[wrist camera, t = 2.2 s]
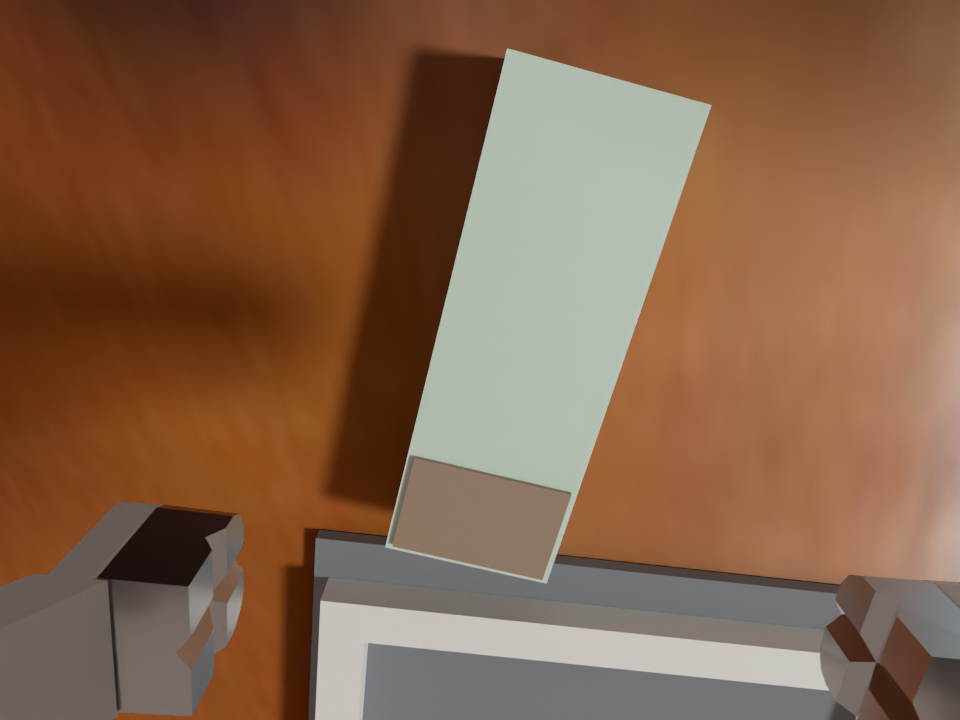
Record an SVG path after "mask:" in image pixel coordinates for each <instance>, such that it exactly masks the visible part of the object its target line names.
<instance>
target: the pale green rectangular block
mask: <svg viewBox="0 0 960 720" xmlns="http://www.w3.org/2000/svg"><path fill="white" fill-rule="evenodd" d="M710 108H711V105H709V104H706V103H702V102H698V101H695V100H691V99H688V98H684V97H680V96H677V95H673V94H670V93H666V92H662V91H659V90H655V89H652V88H648V87H645V86H641V85H637V84H634V83H630V82H627V81H623V80H619V79H616V78H612V77H609V76H605V75H601V74H598V73H594V72H591V71H587V70H583V69H580V68H576V67H573V66H569V65H565V64H562V63H558V62H555V61H551V60H547V59H544V58H540V57H537V56H533V55H529V54H526V53H522V52H519V51H515V50H511V49H508V48H507V51H506V55H505V59H504V63H503V67H502V71H501V75H500V79H499V84H498V88H497V92H496V96H495V100H494V104H493V108H492V112H491V116H490V120H489V124H488V129H487V133H486V137H485V141H484V145H483V149H482V153H481V157H480V161H479V165H478V169H477V173H476V178H475V182H474V186H473V190H472V194H471V198H470V202H469V206H468V210H467V214H466V218H465V223H464V227H463V231H462V235H461V239H460V243H459V247H458V251H457V255H456V259H455V263H454V267H453V272H452V276H451V280H450V284H449V288H448V292H447V296H446V300H445V304H444V308H443V312H442V317H441V321H440V325H439V329H438V333H437V337H436V341H435V345H434V349H433V353H432V357H431V361H430V366H429V370H428V374H427V378H426V382H425V386H424V390H423V394H422V398H421V402H420V406H419V411H418V415H417V419H416V423H415V427H414V431H413V435H412V439H411V443H410V447H409V451H408V455H407V460H406V464H405V468H404V472H403V476H402V480H401V484H400V488H399V492H398V496H397V500H396V505H395V509H394V513H393V517H392V521H391V525H390V529H389V533H388V537H387V541H386V545H385V548H390V549H394V550H399V551H403V552H408V553H412V554H416V555H421V556H425V557H430V558H434V559H439V560H443V561H447V562H452V563H456V564H461V565H465V566H470V567H474V568H479V569H483V570H487V571H492V572H496V573H501V574H505V575H510V576H514V577H518V578H523V579H527V580H532V581H536V582H541V583H545V584H547V581H548V578H549V575H550V573H551V570H552V567H553V564H554V561H555V558H556V555H557V552H558V549H559V546H560V544H561V541H562V538H563V535H564V532H565V529H566V526H567V523H568V520H569V517H570V515H571V512H572V509H573V506H574V503H575V500H576V497H577V494H578V491H579V488H580V485H581V483H582V480H583V477H584V474H585V471H586V468H587V465H588V462H589V459H590V456H591V454H592V451H593V448H594V445H595V442H596V439H597V436H598V433H599V430H600V427H601V425H602V422H603V419H604V416H605V413H606V410H607V407H608V404H609V401H610V398H611V396H612V393H613V390H614V387H615V384H616V381H617V378H618V375H619V372H620V369H621V367H622V364H623V361H624V358H625V355H626V352H627V349H628V346H629V343H630V340H631V338H632V335H633V332H634V329H635V326H636V323H637V320H638V317H639V314H640V311H641V309H642V306H643V303H644V300H645V297H646V294H647V291H648V288H649V285H650V282H651V279H652V277H653V274H654V271H655V268H656V265H657V262H658V259H659V256H660V253H661V250H662V248H663V245H664V242H665V239H666V236H667V233H668V230H669V227H670V224H671V221H672V219H673V216H674V213H675V210H676V207H677V204H678V201H679V198H680V195H681V192H682V190H683V187H684V184H685V181H686V178H687V175H688V172H689V169H690V166H691V163H692V161H693V158H694V155H695V152H696V149H697V146H698V143H699V140H700V137H701V134H702V132H703V129H704V126H705V123H706V120H707V117H708V114H709V111H710Z"/></svg>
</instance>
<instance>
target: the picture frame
mask: <svg viewBox="0 0 960 720" xmlns="http://www.w3.org/2000/svg"><path fill="white" fill-rule="evenodd" d="M386 541H387V537H383V536H374V535H365V534H355V533H346V532H337V531H327V530H319V531H318V534H317V536H316V541H315V566H314V591H313V616H312V640H311V665H310V690H309V715H308V720H856V716H855V715H854V714H852V713H851V712H850V711H848V710H847V709H846V708H844V707H843V706H842V705H840V704H839V703H838V702H836V701H835V699H834V697H833V696H832V694H831V692H830V691H829V689H828V687H827V686H826V683H825V680H824V677H823V674H822V671H821V664H820V645H821V641H822V638H823V634H824V631H825V627H826V626H827V625H829V624H830V623H831V622H832V621H834V620H835V619H836V618H837V617H839V616H840V615H841V613H840V610H839V608H838V606H837V603H836V601H835V598H836V596H837V593H838V590H839V587H840V585H831V584H822V583H812V582H803V581H794V580H784V579H775V578H766V577H756V576H747V575H738V574H728V573H719V572H710V571H700V570H691V569H682V568H672V567H663V566H654V565H644V564H635V563H626V562H616V561H607V560H598V559H588V558H579V557H570V556H560V555H556V558H555V561H554V564H553V567H552V570H551V573H550V575H549V578H548V581H547V584H545V583H541V582H536V581H532V580H527V579H523V578H518V577H514V576H510V575H505V574H501V573H496V572H492V571H487V570H483V569H479V568H474V567H470V566H465V565H461V564H456V563H452V562H447V561H443V560H439V559H434V558H430V557H425V556H421V555H416V554H412V553H408V552H403V551H399V550H394V549H390V548H385V545H386Z"/></svg>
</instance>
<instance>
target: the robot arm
mask: <svg viewBox="0 0 960 720" xmlns="http://www.w3.org/2000/svg"><path fill="white" fill-rule="evenodd" d="M243 543H244V532H243V520H242V518H241V516H240V514H238V513H229V512H221V511H212V510H204V509H196V508H187V507H179V506H170V505H163V506H162V505H161V504H155V503H143V502H132V501H124V502H119V503H117V504H115V505H114V506H113V507H112V508H111V509H110V510H109V511H108V512H107V513H106V514H105V516H104V517H103V518H102V519H101V520H100V521H99V522H98V523H97V524H96V525H95V526H94V527H93V528H92V529H91V530H90V531H89V532H88V533H87V534H86V535H85V536H84V537H83V538H82V539H81V540H80V541H79V542H78V543H77V544H76V545H75V546H74V547H73V548H72V549H71V550H70V551H69V553H68V554H67V555H66V556H65V557H64V558H63V559H62V560H61V561H60V562H59V563H58V564H57V565H56V566H55V567H54V568H53V569H52V570H51V571H50V572H49V573H48V574H47V575H45V574H32V575H29V576H27V577H24V578H22V579H19V580H17V581H14V582H12V583H9V584H7V585H4V586H2V587H0V720H113V719H114V718H116V717H117V712H126V713H143V714H161V715H178V716H193V714H194V712H195V710H196V708H197V706H198V704H199V702H200V700H201V698H202V696H203V694H204V692H205V690H206V688H207V686H208V684H209V681H210V679H211V677H212V675H213V673H214V654H215V653H216V652H218V651H219V650H221V649H222V648H224V647H226V646H227V645H228V642H229V640H230V638H231V636H232V634H233V631H234V629H235V626H236V623H237V619H238V616H239V612H240V608H241V604H242V596H243V588H244V571H243V570H242V569H241V567H240V566H239V565H238V563H237V562H236V561H235V558H236V556H237V554H238V552H239V551H240V549H241V547H242V545H243ZM835 601H836V603H837V606H838V608H839V610H840V613H841V615H840V616H839V617H837V618H836V619H835V620H834V621H832V622H831V623H830V624H829V625H827V626H826V627H825V631H824V634H823V638H822V641H821V645H820V664H821V671H822V674H823V677H824V680H825V683H826V686H827V687H828V689H829V691H830V692H831V694H832V696H833V697H834V699H835V701H836V702H838V703H839V704H840V705H842V706H843V707H844V708H846V709H847V710H848V711H850V712H851V713H852V714H854V715H855V716H856V720H960V582H946V581H930V580H909V579H896V578H883V577H870V576H857V575H848V576H847V578H846V579H845V580H844V581H843V582H842V583H841V584H840V587H839V590H838V593H837V596H836V598H835Z"/></svg>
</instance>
